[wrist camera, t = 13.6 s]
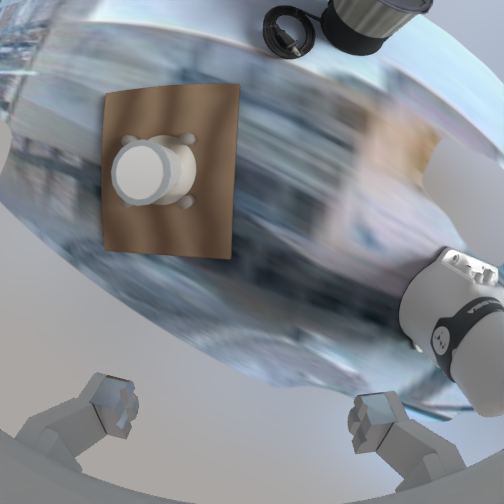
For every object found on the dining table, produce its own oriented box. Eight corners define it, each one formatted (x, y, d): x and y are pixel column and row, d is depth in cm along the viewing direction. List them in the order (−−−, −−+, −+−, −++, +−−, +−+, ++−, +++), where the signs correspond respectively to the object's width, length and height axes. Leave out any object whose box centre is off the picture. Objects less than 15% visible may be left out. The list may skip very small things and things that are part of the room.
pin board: (240, 87, 32) (237, 76, 27) (231, 255, 38) (227, 267, 34) (111, 95, 32) (95, 89, 27) (109, 247, 38) (94, 257, 34)
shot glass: (134, 195, 34) (108, 203, 28) (139, 142, 32) (113, 139, 25) (185, 200, 34) (167, 209, 28) (190, 144, 32) (174, 140, 26)
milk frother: (393, 32, 28) (444, -10, 13) (340, 102, 32) (386, 69, 18) (311, -21, 26) (330, -82, 11) (248, 42, 30) (241, -19, 15)
